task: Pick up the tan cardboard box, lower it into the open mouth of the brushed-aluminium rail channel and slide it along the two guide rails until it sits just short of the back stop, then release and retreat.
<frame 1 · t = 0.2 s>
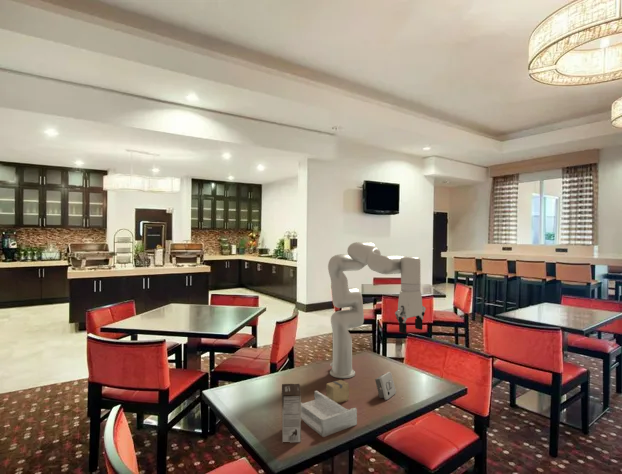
hand: (410, 330, 144), 31 cm above the table, fingers open, 9 cm apart
coffee box: (291, 436, 125), on the table
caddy: (321, 416, 138), on the table
tan cardboard box: (337, 400, 152), on the table
electrical switch: (385, 396, 156), on the table
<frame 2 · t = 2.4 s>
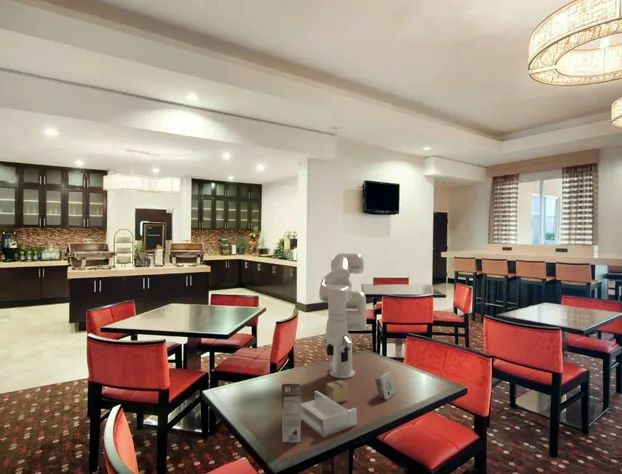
hand: (337, 358, 152), 18 cm above the table, fingers open, 9 cm apart
nothing on the table moved.
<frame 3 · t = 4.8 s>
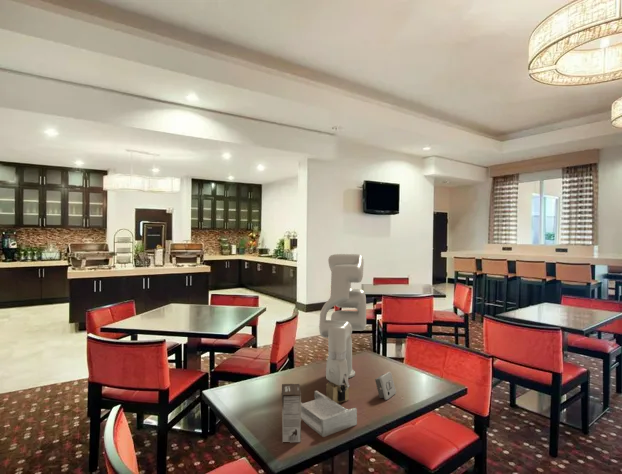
hand: (337, 397, 152), 1 cm above the table, fingers closed on tan cardboard box, 5 cm apart
tan cardboard box: (337, 400, 152), on the table, touching gripper
everything else where it was.
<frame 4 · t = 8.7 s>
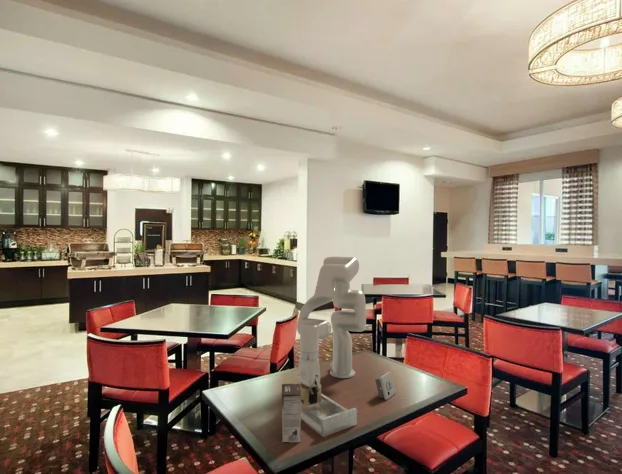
hand: (309, 400, 144), 3 cm above the table, fingers closed on tan cardboard box, 5 cm apart
tan cardboard box: (309, 402, 144), point 2 cm above the table, touching gripper
everything else where it was.
when the fingers open (2 cm above the table, at t = 12.8 s): tan cardboard box stays where it is, resting on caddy.
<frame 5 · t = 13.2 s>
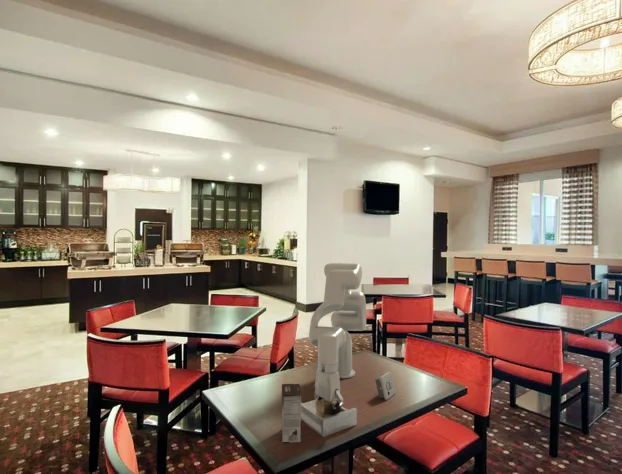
hand: (328, 413, 134), 3 cm above the table, fingers open, 8 cm apart
tan cardboard box: (328, 419, 134), point 1 cm above the table, touching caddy
everything else where it was.
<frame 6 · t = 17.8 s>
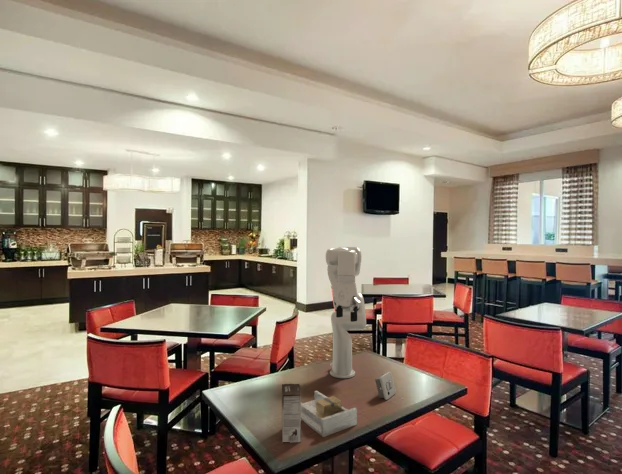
hand: (346, 319, 155), 33 cm above the table, fingers open, 9 cm apart
nothing on the table moved.
at the end: tan cardboard box inside the target area on the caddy (0.6 cm from its centre), point 0.8 cm above the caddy's base; tan cardboard box tilted 0°; the gripper is holding nothing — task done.
